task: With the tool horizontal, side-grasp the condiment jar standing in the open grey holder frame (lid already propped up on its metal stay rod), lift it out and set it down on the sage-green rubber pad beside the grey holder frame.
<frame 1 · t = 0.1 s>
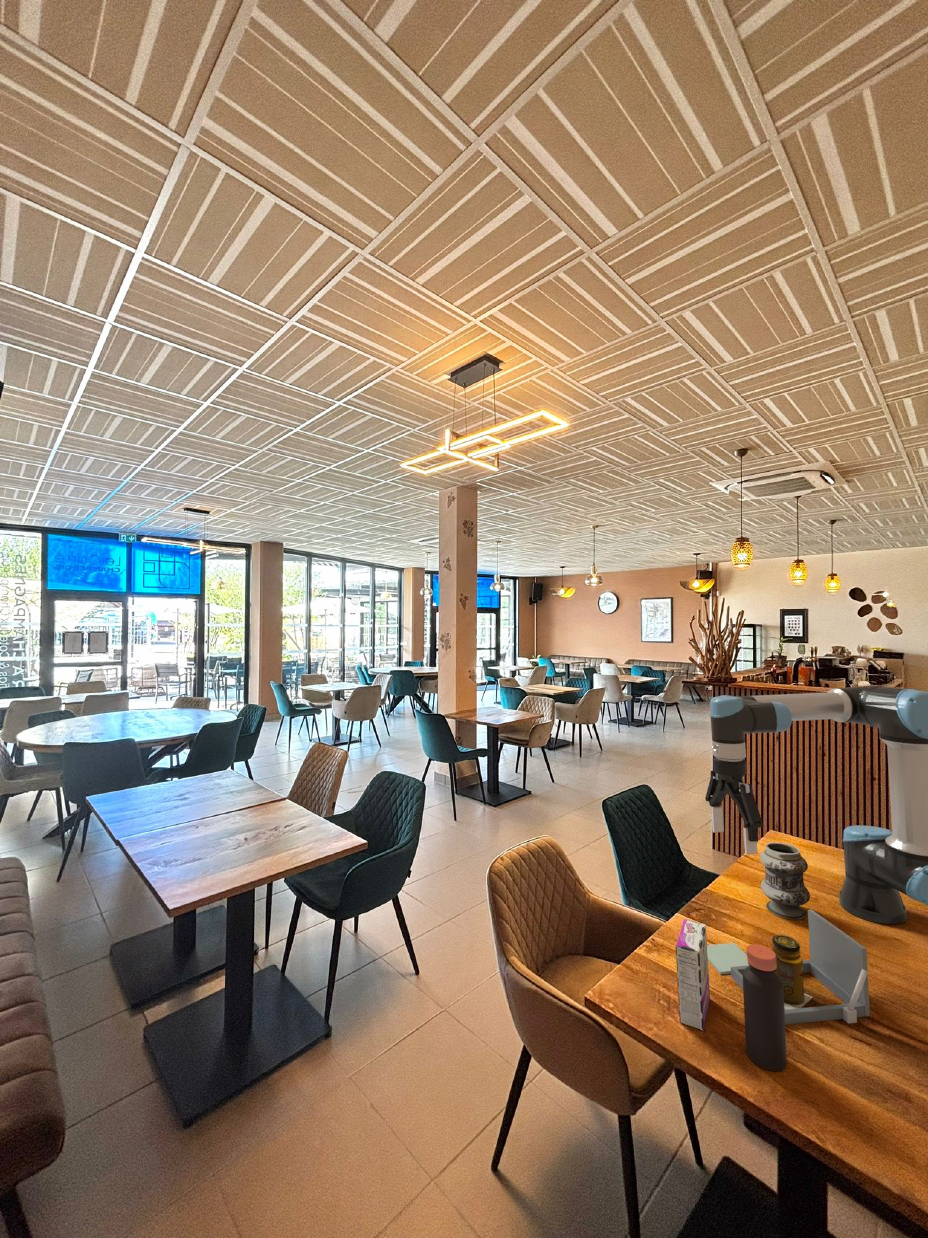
hand: (733, 842, 128), 28 cm above the table, tool pointing down, fingers open, 13 cm apart
bottle: (766, 1058, 97), on the table
pad: (727, 959, 126), on the table
apothecary jar: (785, 911, 146), on the table
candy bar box: (694, 1011, 109), on the table
grey holder frame: (794, 995, 113), on the table
condiment: (785, 997, 113), resting in grey holder frame
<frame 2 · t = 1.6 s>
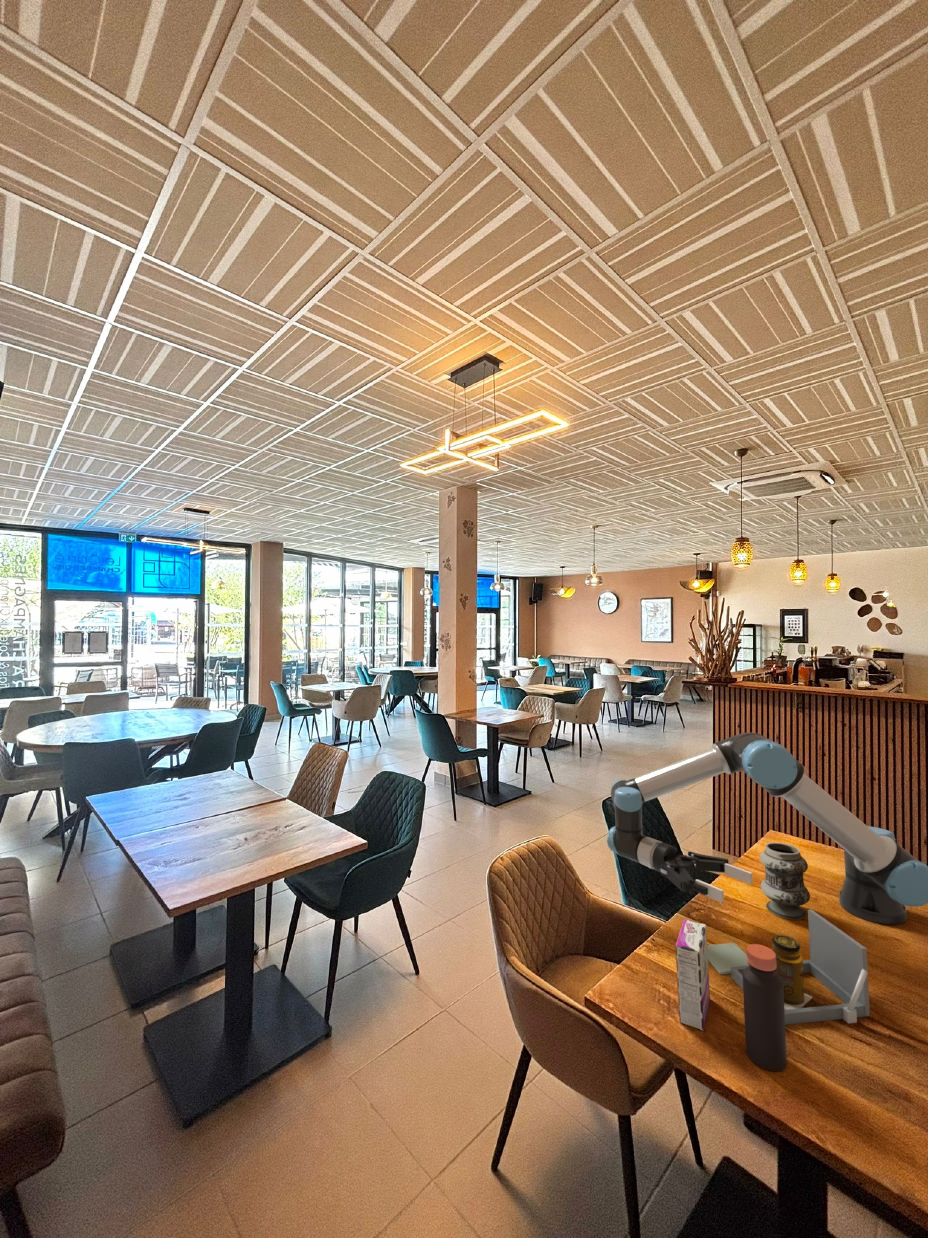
hand: (737, 887, 121), 20 cm above the table, tool horizontal, fingers open, 13 cm apart
nothing on the table moved.
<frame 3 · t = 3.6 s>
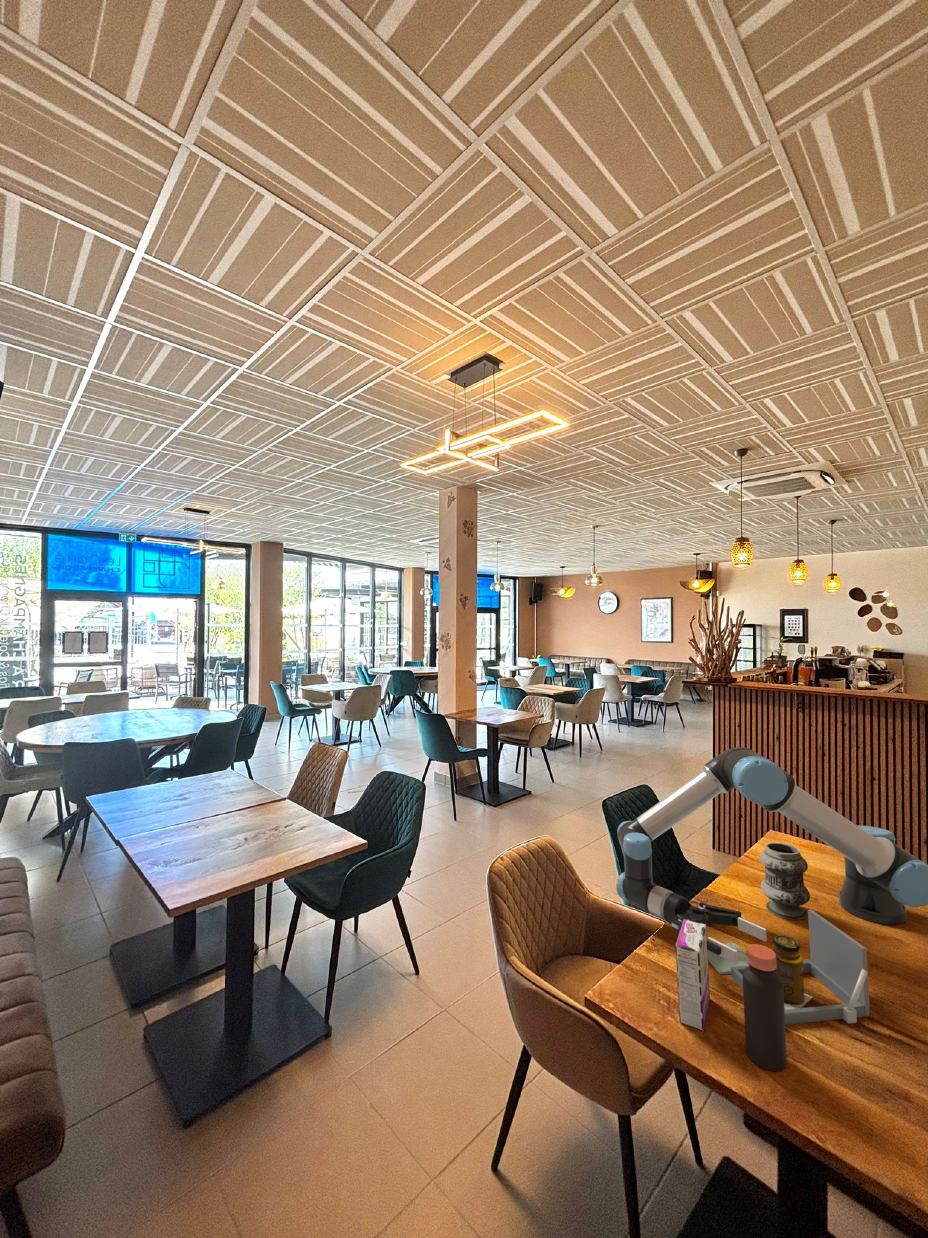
hand: (751, 946, 118), 8 cm above the table, tool horizontal, fingers open, 13 cm apart
nothing on the table moved.
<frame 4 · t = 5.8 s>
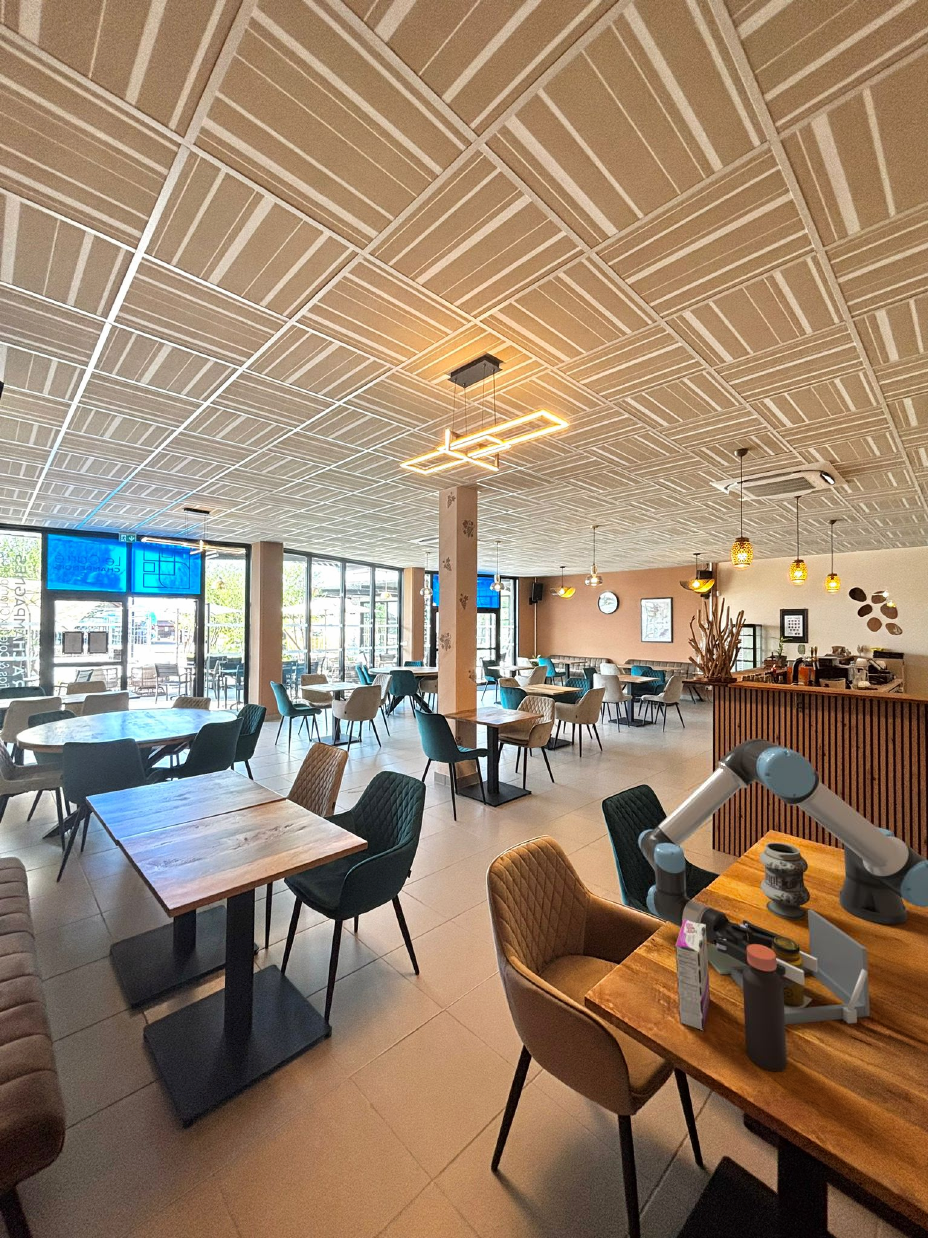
hand: (810, 971, 109), 8 cm above the table, tool horizontal, fingers closed on condiment, 6 cm apart
condiment: (785, 999, 112), resting in grey holder frame, touching gripper
everything else where it was.
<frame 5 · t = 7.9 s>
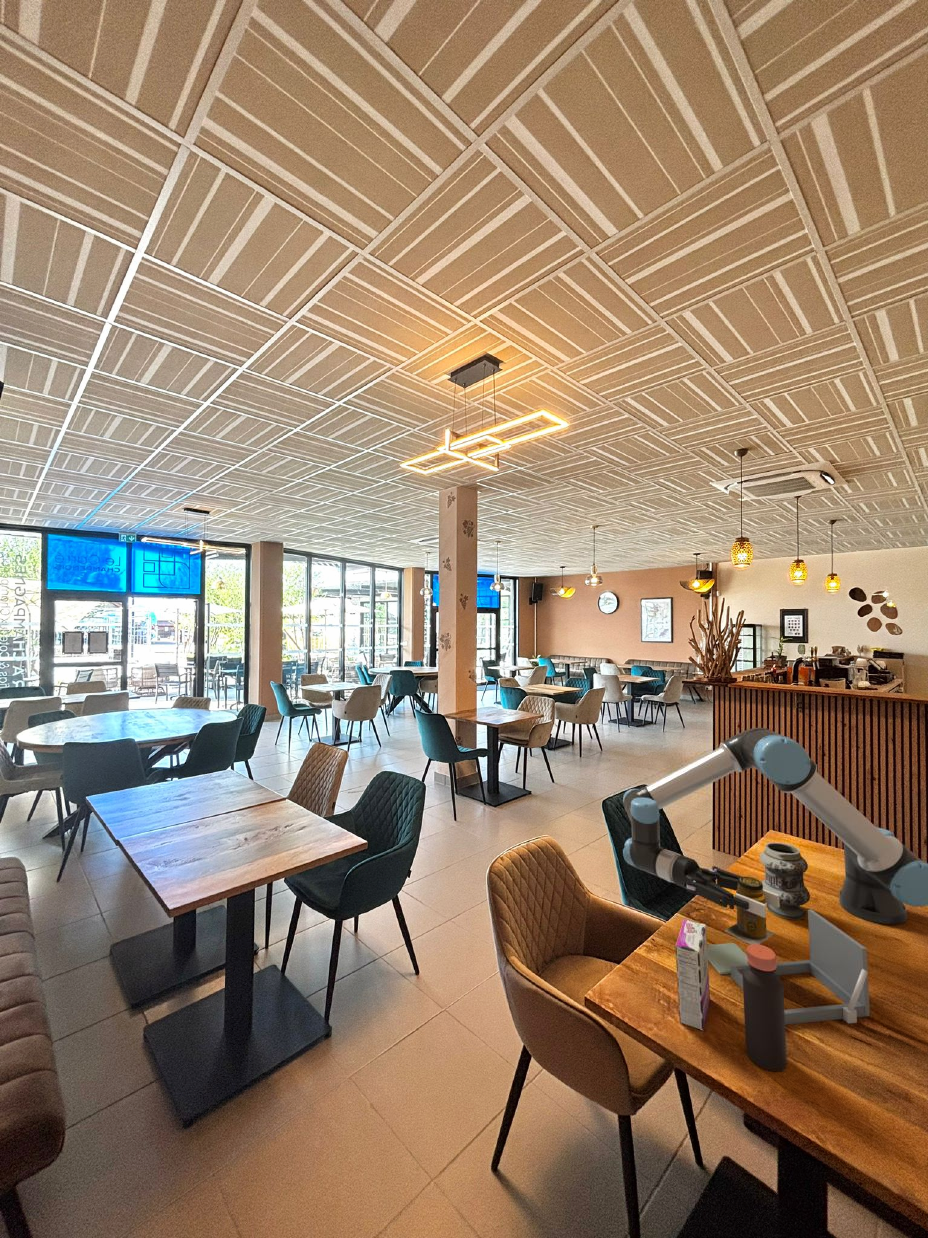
hand: (771, 906, 116), 18 cm above the table, tool horizontal, fingers closed on condiment, 6 cm apart
condiment: (749, 934, 119), point 10 cm above the table, touching gripper
everything else where it was.
when the fingers open (10 cm above the table, at t = 10.1 s): condiment drops 1 cm, resting on pad.
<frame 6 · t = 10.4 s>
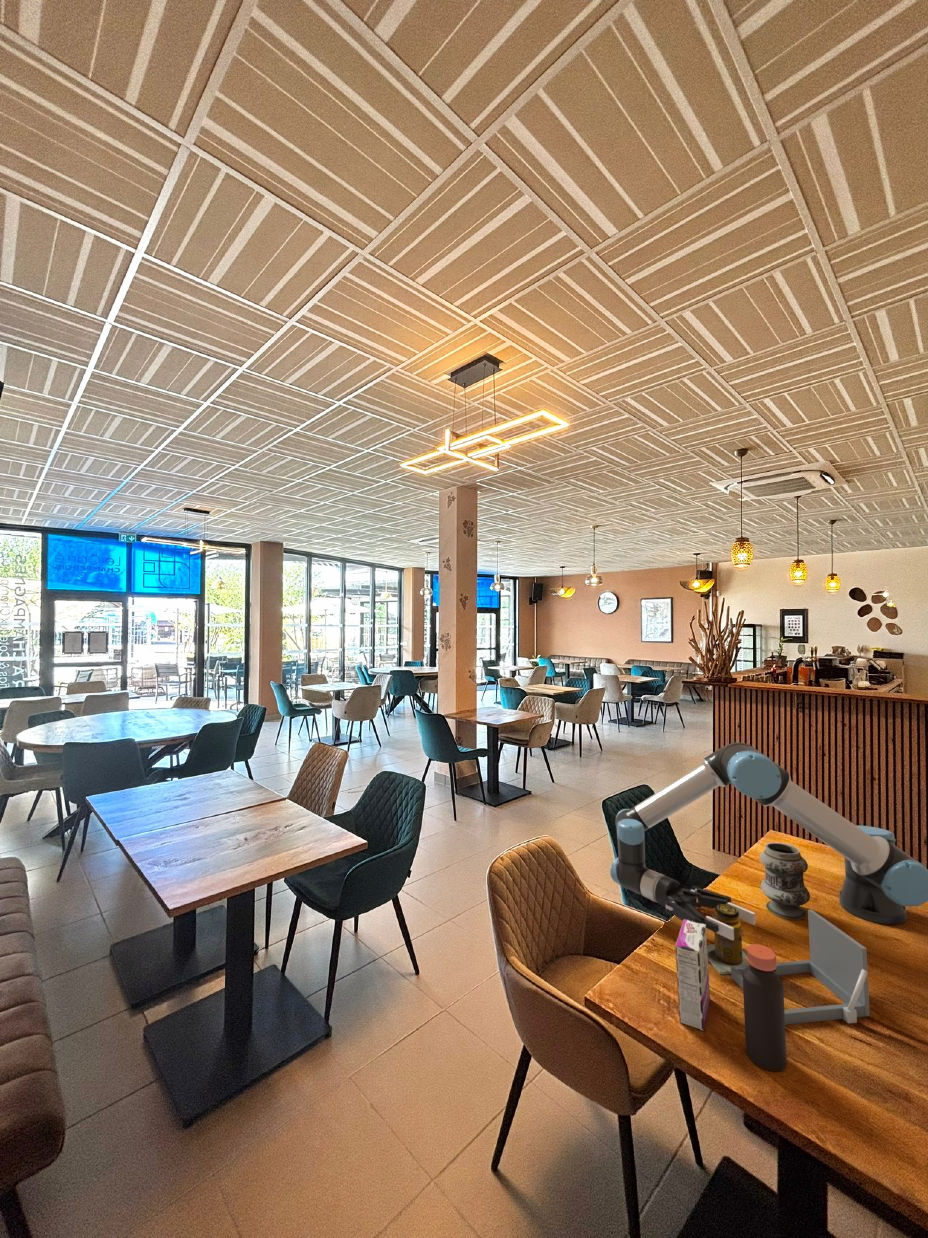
hand: (744, 926, 122), 10 cm above the table, tool horizontal, fingers open, 9 cm apart
condiment: (726, 959, 125), resting on pad
everything else where it was.
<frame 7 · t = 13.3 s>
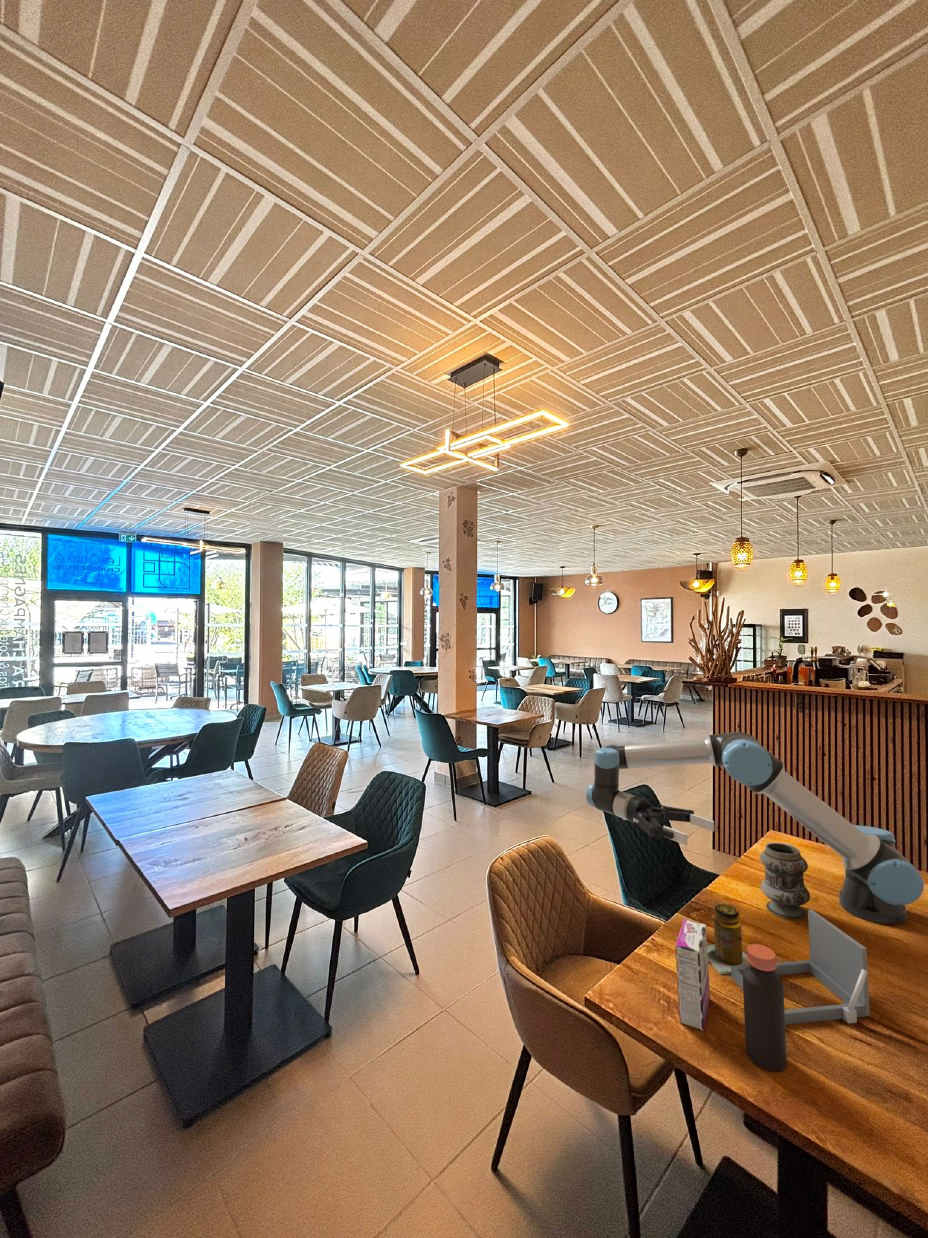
hand: (700, 833, 136), 27 cm above the table, tool horizontal, fingers open, 13 cm apart
nothing on the table moved.
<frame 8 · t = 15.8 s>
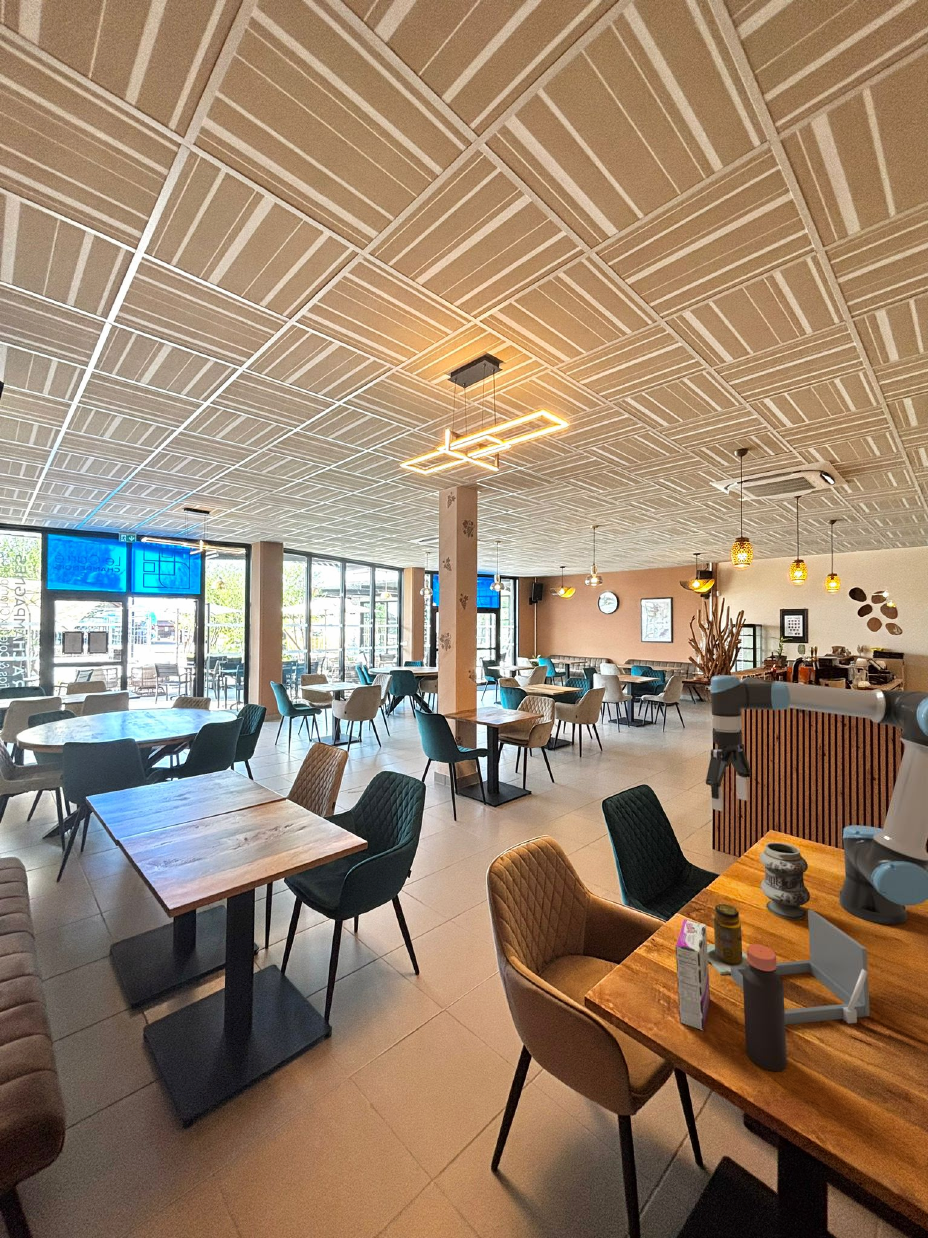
hand: (730, 804, 144), 32 cm above the table, tool pointing down, fingers open, 13 cm apart
nothing on the table moved.
at the end: condiment inside the target area on the pad (1.1 cm from its centre), point 0.4 cm above the pad's base; condiment tilted 0°; the gripper is holding nothing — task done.
